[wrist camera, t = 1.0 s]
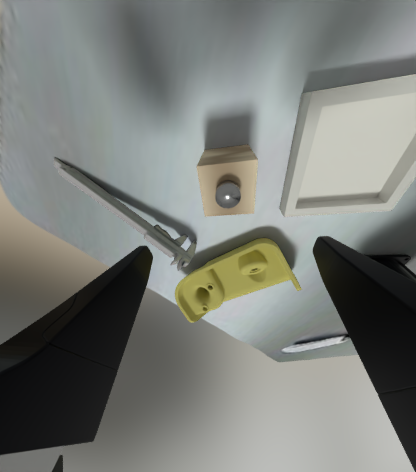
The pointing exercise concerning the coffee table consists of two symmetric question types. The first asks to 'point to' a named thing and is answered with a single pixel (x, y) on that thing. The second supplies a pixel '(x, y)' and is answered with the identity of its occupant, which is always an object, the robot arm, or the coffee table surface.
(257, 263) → the plastic component
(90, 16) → the coffee table surface
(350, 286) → the robot arm
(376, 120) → the housing tray
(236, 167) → the block
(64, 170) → the caliper
